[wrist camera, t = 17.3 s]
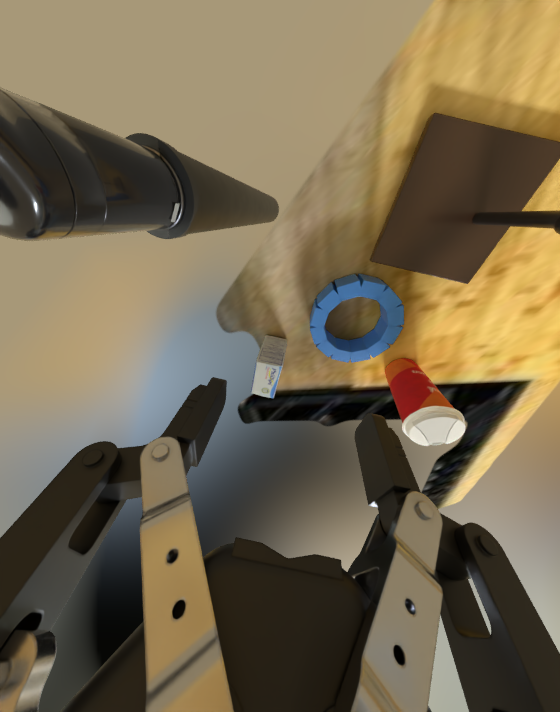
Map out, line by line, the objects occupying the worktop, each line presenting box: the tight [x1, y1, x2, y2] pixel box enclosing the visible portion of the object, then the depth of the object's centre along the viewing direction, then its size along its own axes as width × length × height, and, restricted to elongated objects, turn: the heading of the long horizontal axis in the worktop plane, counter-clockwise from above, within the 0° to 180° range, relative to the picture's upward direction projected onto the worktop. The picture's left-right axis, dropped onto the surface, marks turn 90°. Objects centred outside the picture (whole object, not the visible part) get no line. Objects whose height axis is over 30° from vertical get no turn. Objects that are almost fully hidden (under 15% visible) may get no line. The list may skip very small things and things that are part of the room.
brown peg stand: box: [370, 113, 560, 284], centre depth 20 cm, size 14×14×13 cm
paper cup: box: [385, 358, 465, 446], centre depth 33 cm, size 8×8×14 cm
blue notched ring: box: [310, 274, 404, 362], centre depth 33 cm, size 14×14×4 cm
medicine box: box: [251, 335, 287, 398], centre depth 37 cm, size 8×4×9 cm, turn 168°
